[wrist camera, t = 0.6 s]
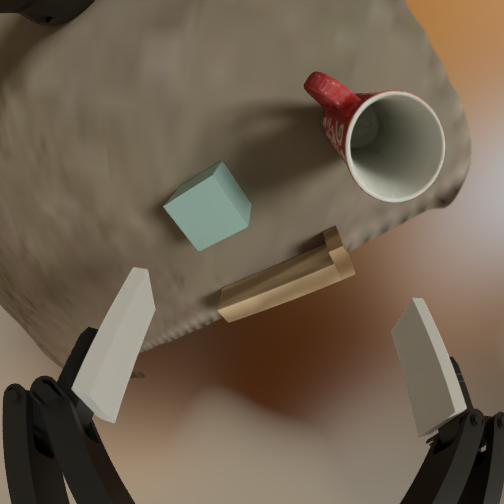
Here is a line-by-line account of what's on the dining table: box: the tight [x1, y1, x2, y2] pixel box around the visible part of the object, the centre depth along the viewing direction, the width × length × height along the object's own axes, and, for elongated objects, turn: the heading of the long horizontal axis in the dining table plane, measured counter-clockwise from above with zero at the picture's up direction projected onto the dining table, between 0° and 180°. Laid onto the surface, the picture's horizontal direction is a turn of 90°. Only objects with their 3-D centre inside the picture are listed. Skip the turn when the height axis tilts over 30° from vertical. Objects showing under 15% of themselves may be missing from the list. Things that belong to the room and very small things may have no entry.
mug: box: [304, 72, 445, 203], centre depth 22 cm, size 13×9×14 cm
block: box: [163, 161, 252, 252], centre depth 33 cm, size 7×7×6 cm
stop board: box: [217, 226, 355, 322], centre depth 39 cm, size 5×20×5 cm, turn 121°
